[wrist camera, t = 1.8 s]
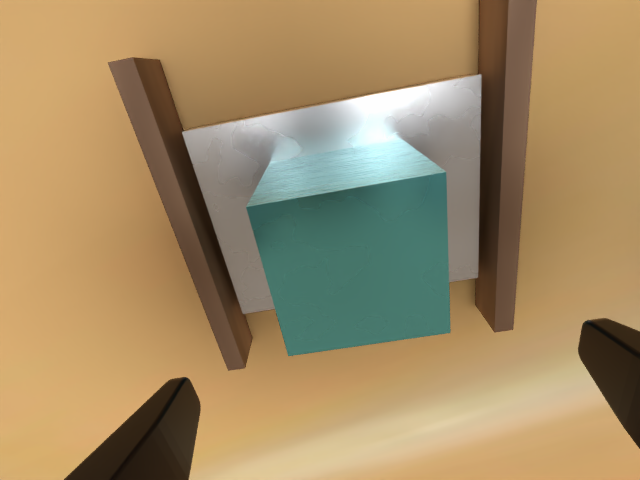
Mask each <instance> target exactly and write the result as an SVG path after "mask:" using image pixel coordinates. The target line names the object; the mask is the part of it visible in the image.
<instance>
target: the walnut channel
mask: <svg viewBox="0 0 640 480" xmlns="http://www.w3.org/2000/svg"><path fill="white" fill-rule="evenodd" d="M536 4H537V0H480V4H479V74H482V78H481V139H480V199H479V260H478V278H476V307H477V308H478V309H479V311H480V312H481V314H482V315H483V317H484V318H485V320H486V321H487V322H488V324H489V325H490V327H491V328H492V330H493V331H494V332H501V331H508V330H513V326H514V312H515V298H516V284H517V270H518V256H519V242H520V228H521V214H522V200H523V186H524V172H525V158H526V144H527V130H528V116H529V102H530V88H531V74H532V60H533V46H534V32H535V18H536ZM108 65H109V67H110V70H111V72H112V75H113V77H114V80H115V82H116V85H117V88H118V90H119V93H120V95H121V98H122V100H123V103H124V105H125V108H126V111H127V113H128V116H129V118H130V121H131V123H132V126H133V128H134V131H135V134H136V136H137V139H138V141H139V144H140V146H141V149H142V151H143V154H144V157H145V159H146V162H147V164H148V167H149V169H150V172H151V174H152V177H153V180H154V182H155V185H156V187H157V190H158V192H159V195H160V197H161V200H162V203H163V205H164V208H165V210H166V213H167V215H168V218H169V220H170V223H171V226H172V228H173V231H174V233H175V236H176V238H177V241H178V243H179V246H180V249H181V251H182V254H183V256H184V259H185V261H186V264H187V266H188V269H189V272H190V274H191V277H192V279H193V282H194V284H195V287H196V289H197V292H198V295H199V297H200V300H201V302H202V305H203V307H204V310H205V312H206V315H207V318H208V320H209V323H210V325H211V328H212V330H213V333H214V336H215V338H216V341H217V343H218V346H219V348H220V351H221V353H222V356H223V359H224V361H225V364H226V366H227V369H228V371H229V370H236V369H243V368H245V367H246V363H247V358H248V354H249V350H250V346H251V342H252V336H251V333H250V330H249V327H248V324H247V321H246V318H245V315H244V314H243V313H242V310H241V307H240V304H239V301H238V298H237V295H236V292H235V289H234V286H233V283H232V280H231V277H230V274H229V271H228V268H227V265H226V262H225V259H224V256H223V254H222V251H221V248H220V245H219V242H218V239H217V236H216V233H215V230H214V227H213V224H212V221H211V218H210V215H209V212H208V209H207V206H206V203H205V200H204V197H203V194H202V191H201V188H200V185H199V182H198V179H197V176H196V173H195V170H194V167H193V164H192V161H191V158H190V155H189V152H188V149H187V146H186V143H185V140H184V137H183V134H182V132H183V129H182V126H181V123H180V120H179V117H178V114H177V111H176V108H175V105H174V102H173V99H172V96H171V93H170V90H169V87H168V84H167V81H166V78H165V75H164V72H163V69H162V66H161V63H160V60H153V59H143V58H133V57H132V58H127V59H123V60H118V61H113V62H108Z"/></svg>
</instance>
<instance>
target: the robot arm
mask: <svg viewBox="0 0 640 480" xmlns="http://www.w3.org/2000/svg"><path fill="white" fill-rule="evenodd" d="M578 352H579V356H580V359H581V361H582V362H583V364H584V365H585V367H586V369H587V370H588V372H589V373H590V375H591V377H592V378H593V380H594V381H595V383H596V385H597V386H598V388H599V389H600V391H601V393H602V394H603V396H604V397H605V399H606V401H607V402H608V404H609V405H610V407H611V409H612V410H613V412H614V413H615V415H616V416H617V418H618V419H619V421H620V422H621V424H622V425H623V427H624V428H625V430H626V431H627V432H628V434H629V435H630V437H631V438H632V439H633V441H634V442H635V443H636V445H637V446H638V447H639V449H640V331H637V330H635V329H632V328H630V327H627V326H625V325H622V324H620V323H617V322H615V321H612V320H610V319H606V318H600V319H593V320H587V321H585V322H584V323H583V325H582V330H581V335H580V341H579V347H578ZM199 416H200V401H199V398H198V396H197V394H196V392H195V389H194V387H193V385H192V383H191V381H190V379H188V378H187V377H182V378H175V379H171V380H169V381H168V382H166V383H165V384H164V385H163V386H162V387H161V388H160V389H159V390H158V391H157V392H156V393H155V394H154V395H153V396H152V397H151V398H149V399H148V400H147V401H146V402H145V403H144V404H143V405H142V406H141V407H140V408H139V409H138V410H137V411H136V412H135V413H134V414H133V415H132V416H130V417H129V418H128V419H127V420H126V421H125V422H124V423H123V424H122V425H121V426H120V427H119V428H118V429H117V430H116V431H115V432H114V433H113V434H111V435H110V436H109V437H108V438H107V439H106V440H105V441H104V442H103V443H102V444H101V445H100V446H99V447H98V448H97V449H96V450H95V451H94V452H92V453H91V454H90V455H89V456H88V457H87V458H86V459H85V460H84V461H83V462H82V463H81V464H80V465H79V466H78V467H77V468H76V469H74V470H73V471H72V472H71V473H70V474H69V475H68V476H67V477H66V478H65V479H64V480H189V475H190V470H191V464H192V458H193V452H194V446H195V440H196V434H197V428H198V422H199Z"/></svg>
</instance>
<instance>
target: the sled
mask: <svg viewBox="0 0 640 480" xmlns="http://www.w3.org/2000/svg"><path fill="white" fill-rule="evenodd" d="M481 78H482V74H469V75H464V76H459V77H454V78H448V79H443V80H438V81H433V82H428V83H423V84H417V85H412V86H407V87H402V88H397V89H391V90H386V91H381V92H376V93H371V94H365V95H360V96H355V97H350V98H345V99H340V100H334V101H329V102H324V103H319V104H314V105H308V106H303V107H298V108H293V109H288V110H282V111H277V112H272V113H267V114H262V115H256V116H251V117H246V118H241V119H236V120H231V121H225V122H220V123H215V124H210V125H205V126H199V127H194V128H190V129H187V130H185V131H183V132H182V134H183V137H184V140H185V143H186V146H187V149H188V152H189V155H190V158H191V161H192V164H193V167H194V170H195V173H196V176H197V179H198V182H199V185H200V188H201V191H202V194H203V197H204V200H205V203H206V206H207V209H208V212H209V215H210V218H211V221H212V224H213V227H214V230H215V233H216V236H217V239H218V242H219V245H220V248H221V251H222V254H223V256H224V259H225V262H226V265H227V268H228V271H229V274H230V277H231V280H232V283H233V286H234V289H235V292H236V295H237V298H238V301H239V304H240V307H241V310H242V313H243V314H246V313H252V312H259V311H265V310H272V309H275V310H276V314H277V317H278V321H279V324H280V328H281V331H282V335H283V338H284V342H285V345H286V349H287V352H288V356H293V355H300V354H307V353H314V352H321V351H327V350H334V349H341V348H348V347H355V346H362V345H369V344H376V343H383V342H390V341H397V340H404V339H411V338H417V337H424V336H431V335H438V334H445V333H450V297H449V282H454V281H460V280H467V279H473V278H478V260H479V199H480V139H481Z"/></svg>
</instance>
